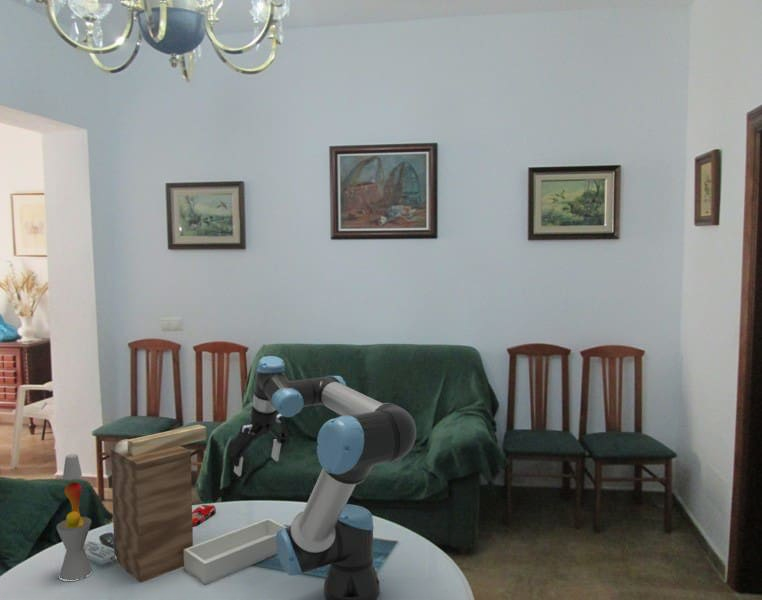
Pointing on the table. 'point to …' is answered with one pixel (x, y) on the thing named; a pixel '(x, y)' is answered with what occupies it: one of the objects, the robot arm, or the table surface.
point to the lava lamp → (74, 526)
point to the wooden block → (151, 509)
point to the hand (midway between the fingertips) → (256, 466)
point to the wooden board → (166, 440)
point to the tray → (232, 551)
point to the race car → (202, 514)
